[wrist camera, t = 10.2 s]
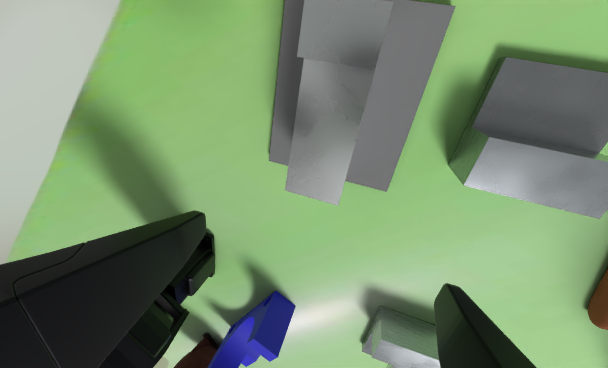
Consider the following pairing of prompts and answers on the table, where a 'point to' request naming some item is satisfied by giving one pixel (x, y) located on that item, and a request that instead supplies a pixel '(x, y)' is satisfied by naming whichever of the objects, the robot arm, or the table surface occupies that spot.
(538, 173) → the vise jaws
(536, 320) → the table surface
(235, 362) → the blue stepped block
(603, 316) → the kitchen knife
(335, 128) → the steel bar
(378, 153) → the mat
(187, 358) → the mate gourd
